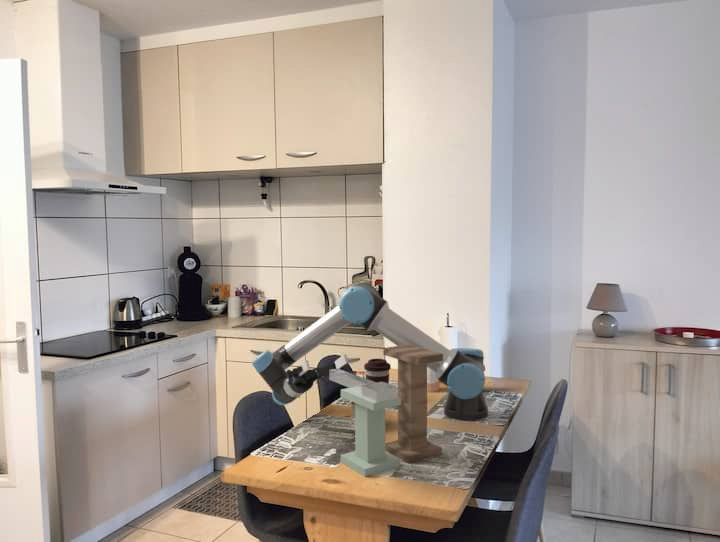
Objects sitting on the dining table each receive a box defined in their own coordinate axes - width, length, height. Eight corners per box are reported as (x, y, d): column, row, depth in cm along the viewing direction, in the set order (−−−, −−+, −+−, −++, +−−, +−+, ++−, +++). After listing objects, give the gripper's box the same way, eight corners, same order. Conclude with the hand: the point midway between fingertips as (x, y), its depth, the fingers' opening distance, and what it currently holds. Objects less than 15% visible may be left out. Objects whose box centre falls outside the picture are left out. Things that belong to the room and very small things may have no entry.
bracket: (323, 380, 181) (323, 370, 180) (343, 377, 184) (343, 367, 184) (376, 402, 158) (376, 391, 158) (397, 398, 162) (397, 387, 162)
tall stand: (379, 448, 180) (379, 348, 178) (411, 439, 187) (411, 343, 184) (413, 466, 167) (413, 358, 164) (446, 456, 174) (446, 353, 171)
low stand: (336, 459, 172) (336, 390, 170) (371, 450, 178) (371, 383, 177) (369, 479, 158) (368, 404, 157) (405, 468, 165) (405, 396, 164)
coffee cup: (389, 403, 224) (389, 363, 223) (362, 402, 226) (362, 363, 224) (391, 396, 234) (391, 357, 233) (366, 395, 235) (366, 357, 234)
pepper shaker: (425, 392, 238) (425, 344, 237) (418, 387, 245) (418, 341, 244) (442, 391, 240) (442, 343, 238) (435, 386, 247) (435, 340, 245)
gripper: (334, 387, 207) (364, 367, 191) (267, 400, 193) (294, 379, 177) (328, 366, 209) (357, 345, 193) (261, 377, 195) (287, 355, 179)
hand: (327, 361), depth 185 cm, fingers open, 13 cm apart
